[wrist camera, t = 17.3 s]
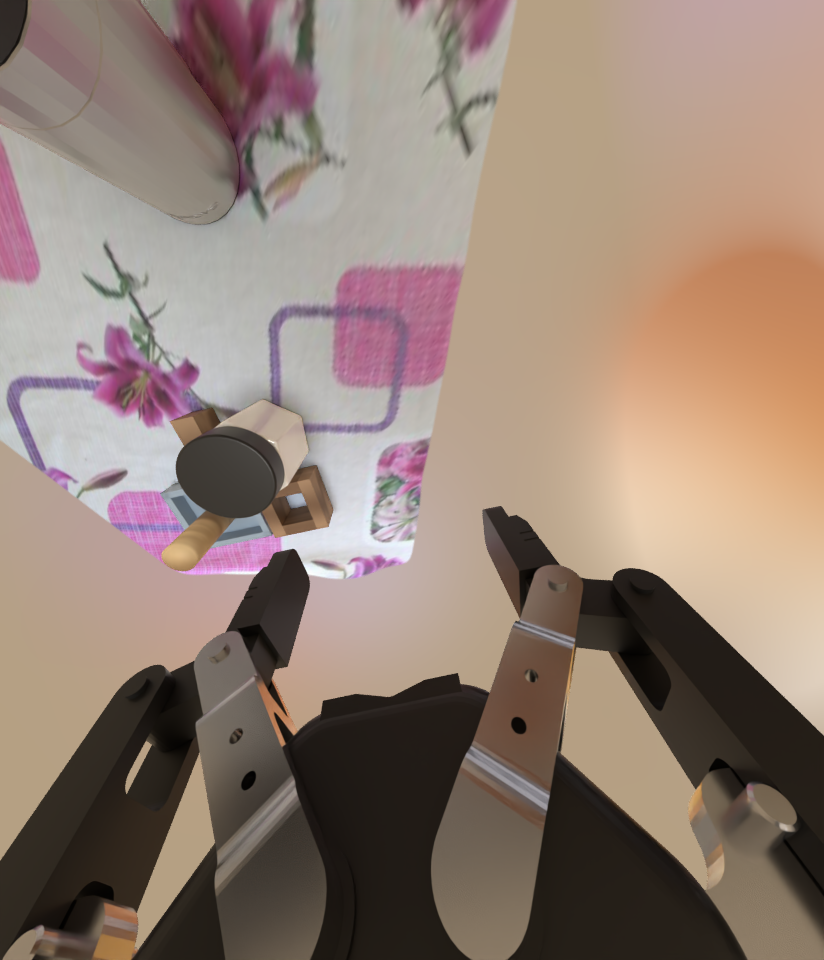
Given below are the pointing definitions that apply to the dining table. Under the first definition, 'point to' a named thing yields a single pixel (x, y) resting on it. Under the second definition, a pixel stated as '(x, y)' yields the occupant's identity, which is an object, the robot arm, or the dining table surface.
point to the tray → (190, 511)
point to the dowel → (195, 541)
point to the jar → (243, 461)
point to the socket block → (303, 517)
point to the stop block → (195, 424)
